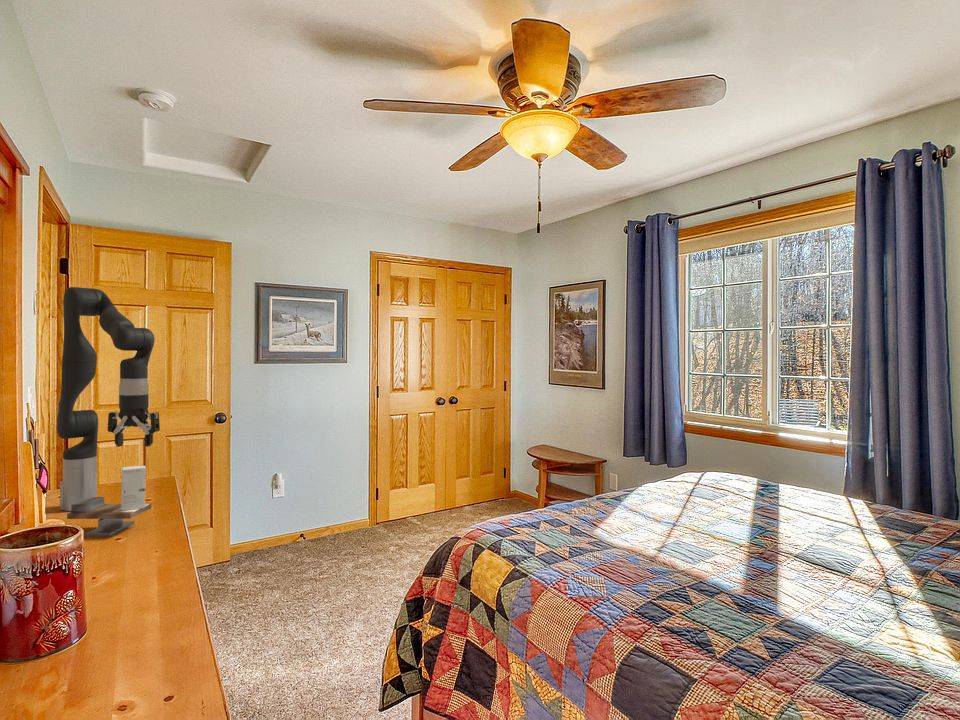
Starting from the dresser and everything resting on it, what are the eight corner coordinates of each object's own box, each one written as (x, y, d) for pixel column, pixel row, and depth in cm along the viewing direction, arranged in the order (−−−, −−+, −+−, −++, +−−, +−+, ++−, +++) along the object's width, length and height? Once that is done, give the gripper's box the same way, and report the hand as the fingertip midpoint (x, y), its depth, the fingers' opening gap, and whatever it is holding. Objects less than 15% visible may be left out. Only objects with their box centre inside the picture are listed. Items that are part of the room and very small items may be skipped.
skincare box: (120, 511, 153) (120, 469, 152) (121, 507, 156) (121, 467, 156) (145, 507, 156) (145, 467, 156) (145, 504, 160) (145, 464, 160)
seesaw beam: (67, 518, 151) (67, 505, 151) (91, 508, 161) (91, 496, 161) (130, 518, 151) (130, 505, 151) (151, 508, 161) (151, 495, 161)
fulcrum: (85, 536, 150) (85, 521, 150) (111, 524, 161) (111, 509, 161) (110, 536, 151) (110, 520, 151) (134, 524, 162) (134, 509, 162)
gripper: (164, 392, 163) (164, 444, 163) (118, 391, 163) (118, 443, 163) (150, 394, 156) (150, 448, 156) (101, 393, 155) (101, 448, 156)
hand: (133, 446), depth 160 cm, fingers open, 8 cm apart
